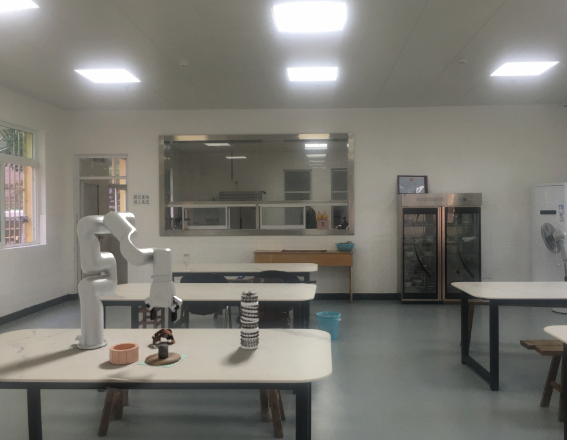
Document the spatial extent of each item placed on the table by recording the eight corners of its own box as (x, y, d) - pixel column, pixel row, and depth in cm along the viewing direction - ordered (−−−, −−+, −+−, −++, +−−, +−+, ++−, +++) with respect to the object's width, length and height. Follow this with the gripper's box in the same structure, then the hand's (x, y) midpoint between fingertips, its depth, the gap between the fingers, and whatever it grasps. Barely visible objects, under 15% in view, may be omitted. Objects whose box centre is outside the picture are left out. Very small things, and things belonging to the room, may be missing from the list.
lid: (138, 363, 172) (138, 349, 172) (158, 352, 185) (158, 339, 185) (169, 366, 168) (168, 352, 168) (187, 355, 181) (187, 342, 181)
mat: (136, 365, 172) (136, 363, 172) (157, 353, 186) (157, 352, 186) (169, 368, 167) (169, 367, 167) (188, 356, 182) (188, 355, 182)
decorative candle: (247, 350, 189) (247, 294, 189) (235, 346, 196) (235, 291, 196) (264, 346, 195) (263, 291, 195) (251, 342, 202) (251, 288, 202)
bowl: (104, 364, 173) (103, 349, 173) (121, 355, 183) (121, 341, 183) (127, 367, 169) (127, 351, 169) (144, 358, 180) (144, 343, 180)
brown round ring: (173, 348, 195) (163, 333, 193) (156, 356, 196) (146, 342, 195) (181, 334, 206) (172, 320, 205) (164, 342, 208) (155, 328, 206)
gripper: (139, 279, 175) (139, 321, 175) (176, 280, 170) (177, 323, 170) (149, 276, 182) (150, 317, 182) (186, 277, 177) (187, 319, 177)
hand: (163, 320), depth 176 cm, fingers open, 9 cm apart
